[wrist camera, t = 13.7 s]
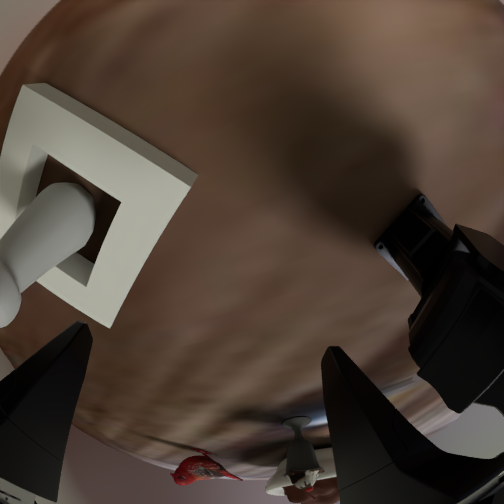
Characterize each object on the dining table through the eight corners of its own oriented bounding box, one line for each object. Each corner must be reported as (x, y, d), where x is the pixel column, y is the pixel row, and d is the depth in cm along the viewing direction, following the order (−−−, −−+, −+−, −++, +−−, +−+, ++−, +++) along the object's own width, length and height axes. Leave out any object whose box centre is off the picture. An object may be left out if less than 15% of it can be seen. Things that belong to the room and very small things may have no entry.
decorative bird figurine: (176, 440, 45) (171, 482, 36) (246, 457, 50) (247, 493, 42) (170, 442, 46) (165, 483, 37) (239, 459, 51) (239, 494, 43)
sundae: (311, 427, 41) (322, 499, 28) (274, 429, 41) (280, 504, 28) (321, 412, 38) (335, 494, 25) (280, 415, 38) (288, 500, 25)
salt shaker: (48, 219, 20) (-42, 309, 9) (59, 163, 18) (-58, 239, 6) (96, 247, 22) (19, 358, 11) (113, 192, 19) (8, 297, 8)
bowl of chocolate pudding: (321, 466, 60) (327, 508, 47) (245, 463, 54) (246, 513, 41) (385, 433, 49) (398, 484, 36) (304, 433, 43) (313, 502, 30)
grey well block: (198, 174, 19) (191, 187, 16) (119, 307, 25) (109, 328, 23) (45, 82, 14) (22, 84, 11) (6, 229, 20) (-11, 242, 18)
